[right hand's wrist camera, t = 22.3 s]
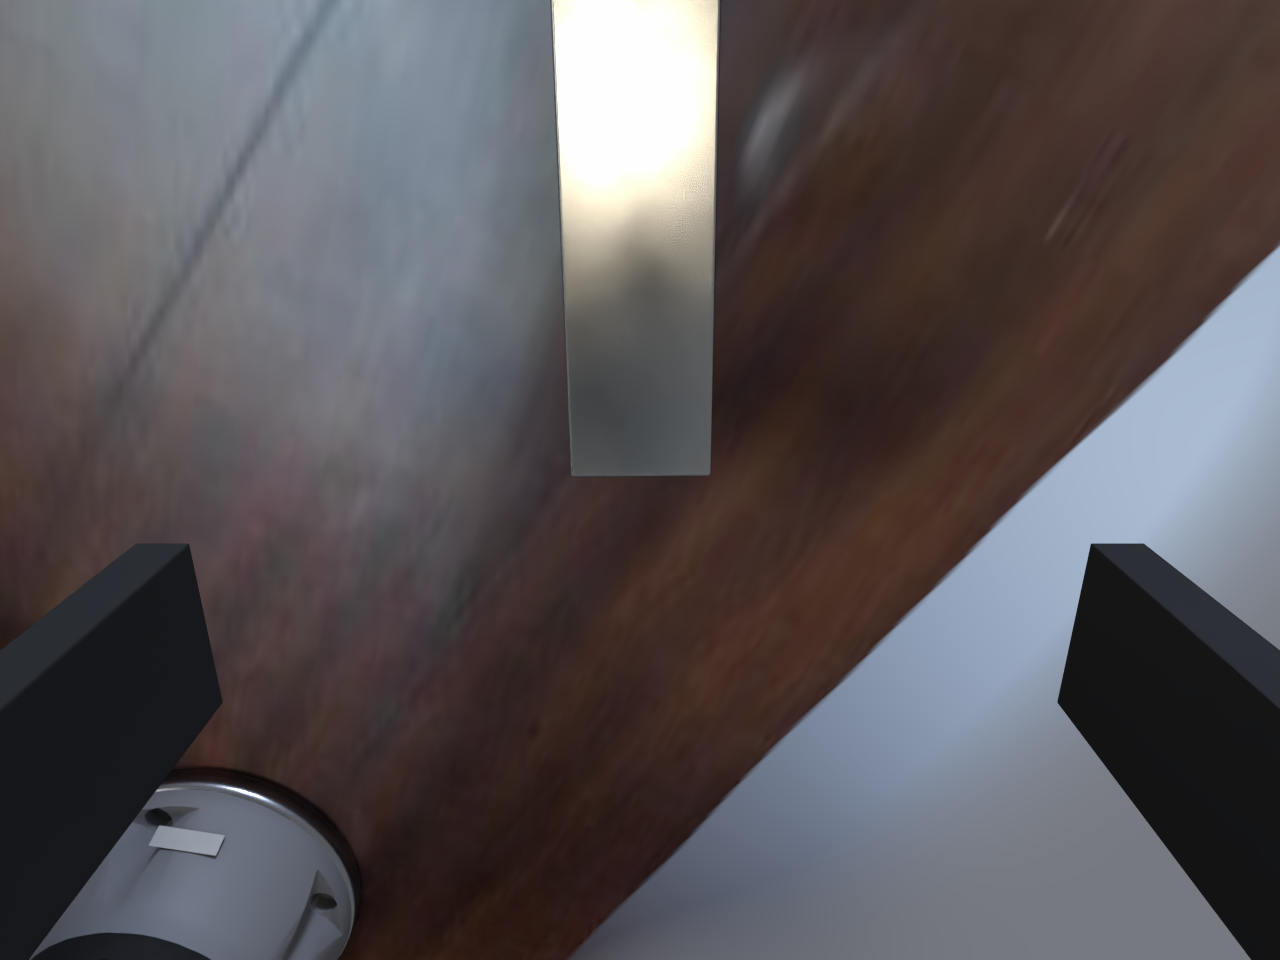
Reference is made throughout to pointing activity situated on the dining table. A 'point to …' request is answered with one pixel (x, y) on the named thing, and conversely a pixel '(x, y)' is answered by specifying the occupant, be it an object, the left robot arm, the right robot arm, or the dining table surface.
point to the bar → (638, 230)
